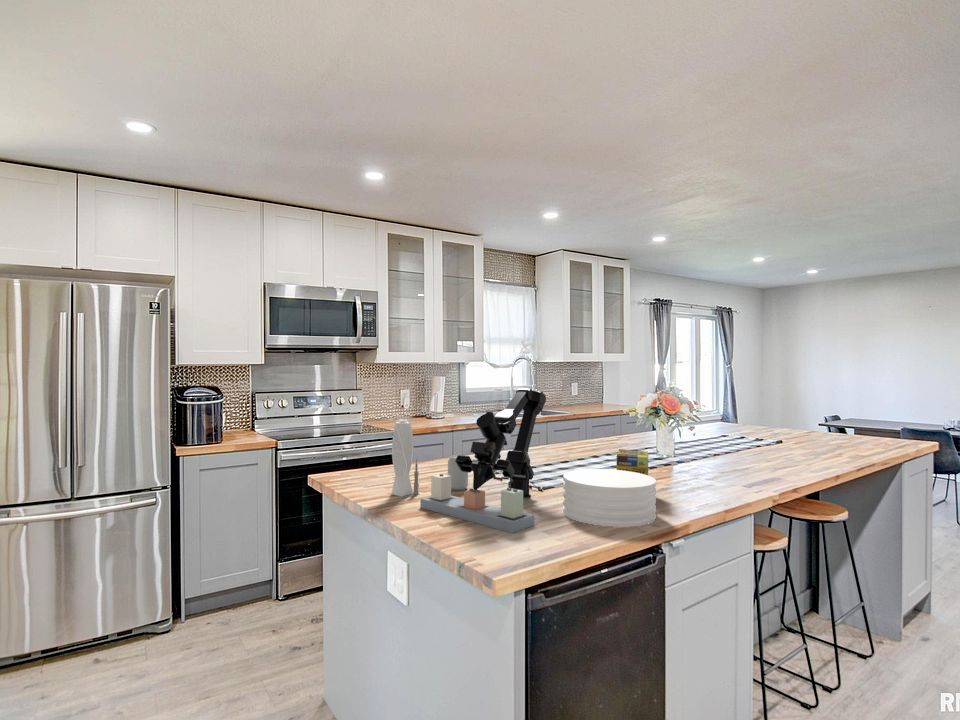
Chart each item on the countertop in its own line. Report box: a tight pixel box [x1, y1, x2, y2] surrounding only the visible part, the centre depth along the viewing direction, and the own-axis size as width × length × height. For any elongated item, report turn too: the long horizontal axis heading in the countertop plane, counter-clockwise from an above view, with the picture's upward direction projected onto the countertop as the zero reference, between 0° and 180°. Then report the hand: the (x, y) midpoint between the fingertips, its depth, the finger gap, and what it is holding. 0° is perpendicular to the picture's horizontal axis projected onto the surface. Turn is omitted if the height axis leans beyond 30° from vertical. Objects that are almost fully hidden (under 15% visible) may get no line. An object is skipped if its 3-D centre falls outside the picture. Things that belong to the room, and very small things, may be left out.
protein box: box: [615, 448, 649, 476], centre depth 191 cm, size 10×15×16 cm
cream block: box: [430, 473, 452, 500], centre depth 174 cm, size 4×4×8 cm
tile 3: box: [463, 488, 486, 511], centre depth 164 cm, size 4×4×8 cm
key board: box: [419, 495, 535, 534], centre depth 164 cm, size 38×10×3 cm, turn 48°
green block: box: [500, 487, 524, 518], centre depth 155 cm, size 4×4×8 cm
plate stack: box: [562, 468, 657, 528], centre depth 169 cm, size 28×28×12 cm
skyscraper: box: [391, 415, 420, 499], centre depth 190 cm, size 8×8×28 cm
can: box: [447, 454, 469, 491], centre depth 200 cm, size 8×8×12 cm
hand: (474, 488), depth 164 cm, fingers closed, pressing on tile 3
